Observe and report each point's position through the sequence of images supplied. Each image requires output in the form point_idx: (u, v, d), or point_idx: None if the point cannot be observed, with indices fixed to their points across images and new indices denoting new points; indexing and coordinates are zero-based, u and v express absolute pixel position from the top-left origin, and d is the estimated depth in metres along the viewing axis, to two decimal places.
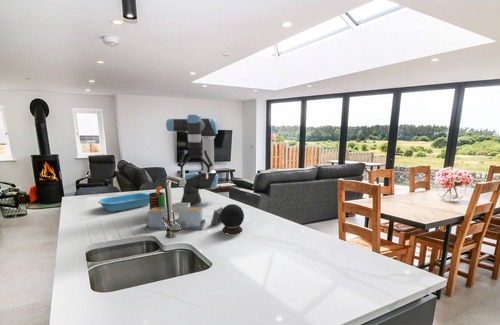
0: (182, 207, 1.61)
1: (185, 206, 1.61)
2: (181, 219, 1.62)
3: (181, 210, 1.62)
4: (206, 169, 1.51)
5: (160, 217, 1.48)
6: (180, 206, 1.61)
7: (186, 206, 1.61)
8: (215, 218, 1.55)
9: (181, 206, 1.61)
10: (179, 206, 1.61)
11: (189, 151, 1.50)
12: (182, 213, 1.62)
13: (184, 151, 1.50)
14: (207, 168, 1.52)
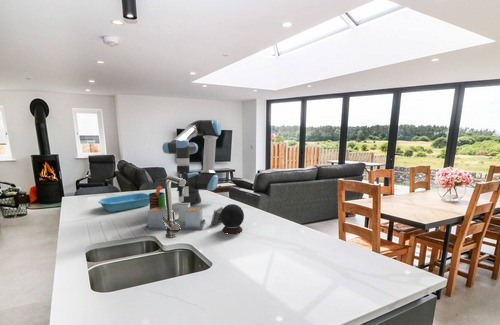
0: (182, 207, 1.61)
1: (185, 206, 1.61)
2: (181, 219, 1.62)
3: (181, 210, 1.62)
4: (178, 192, 1.56)
5: (160, 217, 1.48)
6: (180, 206, 1.61)
7: (186, 206, 1.61)
8: (215, 218, 1.55)
9: (181, 206, 1.61)
10: (179, 206, 1.61)
11: None
12: (182, 213, 1.62)
13: None
14: None
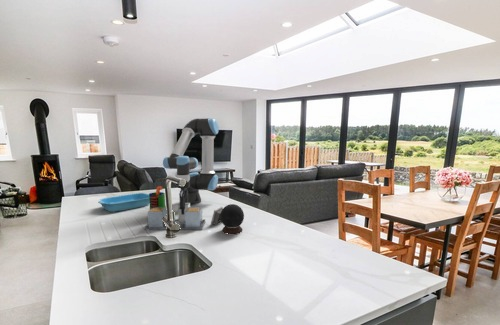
0: None
1: (185, 206, 1.61)
2: (181, 219, 1.62)
3: None
4: (181, 210, 1.61)
5: (160, 217, 1.48)
6: None
7: (186, 206, 1.61)
8: (215, 218, 1.55)
9: None
10: (179, 206, 1.61)
11: None
12: None
13: None
14: None
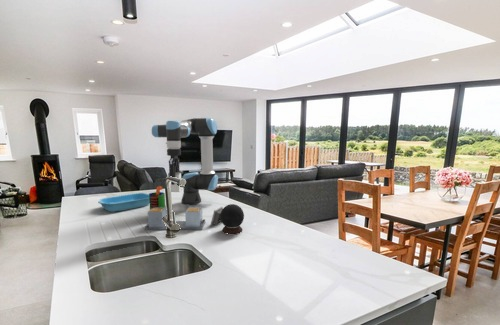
0: None
1: (175, 175, 1.47)
2: (171, 190, 1.48)
3: None
4: None
5: (160, 217, 1.48)
6: None
7: (177, 175, 1.47)
8: (215, 218, 1.55)
9: None
10: None
11: None
12: None
13: None
14: None
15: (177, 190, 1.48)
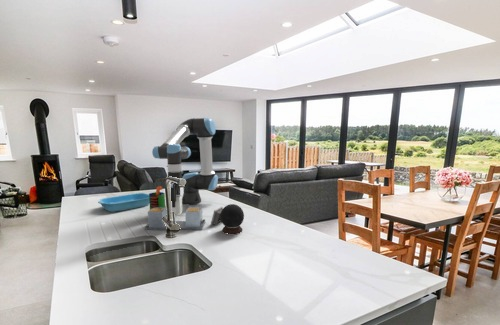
0: None
1: (176, 198, 1.48)
2: None
3: None
4: None
5: (160, 217, 1.48)
6: None
7: (177, 198, 1.48)
8: (215, 218, 1.55)
9: None
10: None
11: None
12: None
13: None
14: None
15: (178, 212, 1.49)
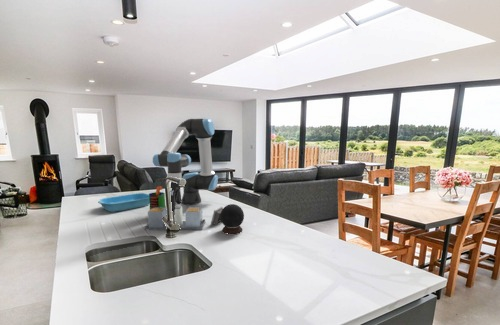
0: None
1: (177, 210, 1.49)
2: None
3: None
4: None
5: (160, 217, 1.48)
6: None
7: (178, 210, 1.49)
8: (215, 218, 1.55)
9: None
10: None
11: None
12: None
13: None
14: None
15: None
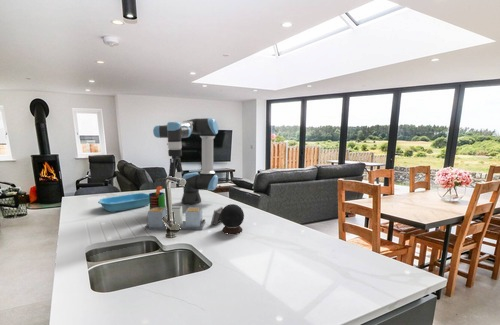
0: (173, 211, 1.49)
1: (177, 210, 1.49)
2: None
3: None
4: None
5: (160, 217, 1.48)
6: None
7: (178, 210, 1.49)
8: (215, 218, 1.55)
9: (172, 210, 1.49)
10: None
11: None
12: None
13: None
14: None
15: None
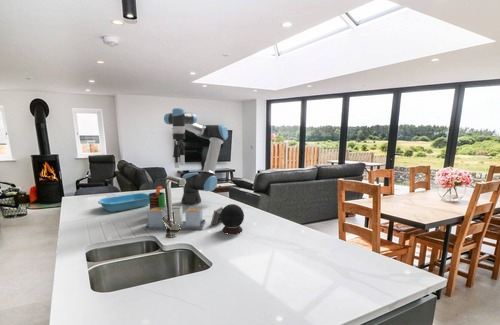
0: (173, 211, 1.49)
1: (177, 210, 1.49)
2: None
3: None
4: None
5: (160, 217, 1.48)
6: None
7: (178, 210, 1.49)
8: (215, 218, 1.55)
9: (172, 210, 1.49)
10: None
11: None
12: None
13: None
14: None
15: None
